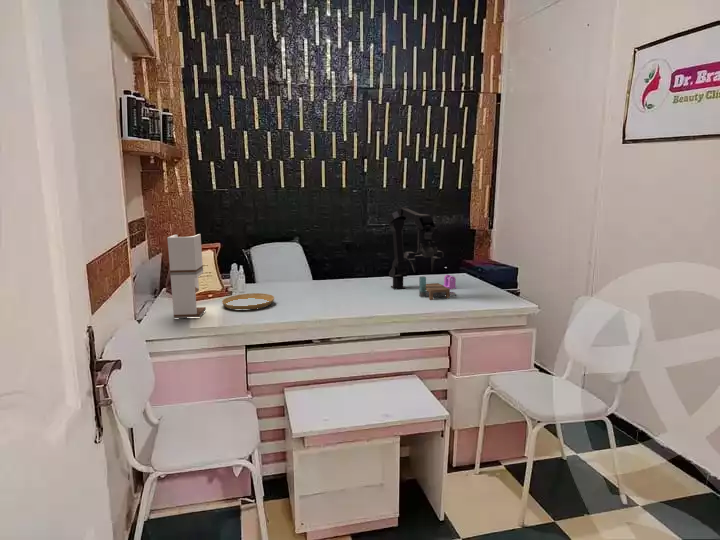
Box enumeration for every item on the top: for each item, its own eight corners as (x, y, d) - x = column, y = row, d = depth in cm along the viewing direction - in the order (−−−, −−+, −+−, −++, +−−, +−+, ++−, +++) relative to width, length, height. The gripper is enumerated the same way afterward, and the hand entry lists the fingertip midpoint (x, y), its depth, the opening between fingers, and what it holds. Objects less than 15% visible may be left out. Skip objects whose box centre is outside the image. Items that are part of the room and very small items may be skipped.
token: (443, 294, 248) (443, 292, 248) (452, 293, 249) (452, 291, 249) (448, 296, 243) (448, 294, 243) (457, 295, 244) (457, 293, 244)
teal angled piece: (419, 296, 243) (419, 276, 242) (444, 294, 246) (445, 275, 245) (421, 297, 241) (421, 277, 239) (446, 295, 244) (447, 276, 242)
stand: (419, 293, 250) (419, 284, 249) (437, 292, 252) (438, 283, 251) (430, 299, 236) (430, 290, 235) (449, 298, 238) (449, 289, 237)
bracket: (450, 286, 265) (450, 274, 264) (455, 289, 260) (455, 276, 258) (428, 288, 260) (429, 276, 259) (433, 291, 255) (434, 278, 254)
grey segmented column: (199, 318, 207) (193, 237, 201) (174, 319, 206) (167, 237, 200) (205, 311, 218) (200, 234, 212) (181, 312, 217) (175, 234, 211)
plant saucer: (222, 314, 215) (221, 307, 214) (222, 301, 238) (222, 295, 237) (277, 310, 221) (276, 303, 220) (272, 298, 244) (271, 291, 243)
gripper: (411, 243, 228) (410, 275, 230) (448, 241, 232) (447, 273, 234) (403, 240, 238) (403, 271, 241) (439, 239, 243) (438, 269, 245)
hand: (423, 271), depth 240 cm, fingers open, 9 cm apart
